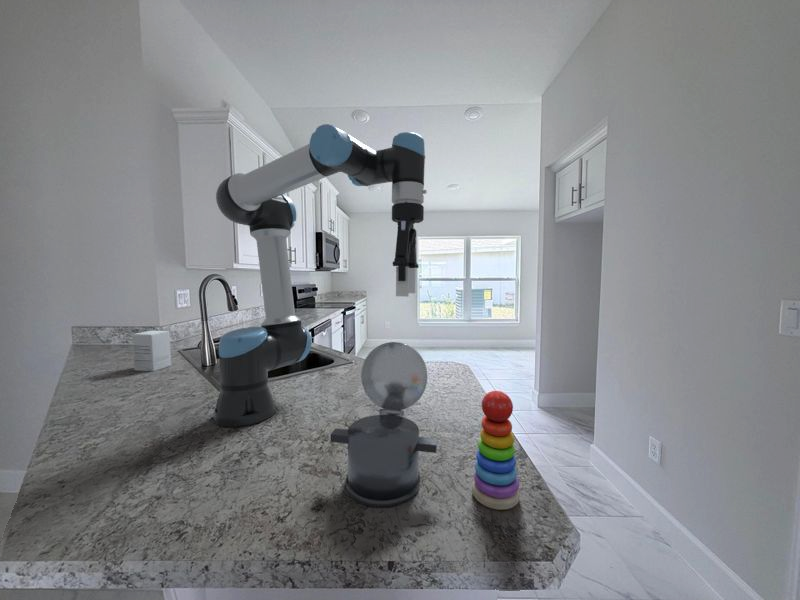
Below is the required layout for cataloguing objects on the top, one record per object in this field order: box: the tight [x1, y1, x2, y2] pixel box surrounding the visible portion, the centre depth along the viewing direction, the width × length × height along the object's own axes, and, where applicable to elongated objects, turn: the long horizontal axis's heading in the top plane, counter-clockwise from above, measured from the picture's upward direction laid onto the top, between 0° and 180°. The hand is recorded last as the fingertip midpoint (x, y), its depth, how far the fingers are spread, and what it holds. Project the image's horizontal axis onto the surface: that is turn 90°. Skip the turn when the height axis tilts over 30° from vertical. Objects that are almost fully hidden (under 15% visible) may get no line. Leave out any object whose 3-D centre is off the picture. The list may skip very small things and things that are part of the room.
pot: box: [330, 414, 438, 509], centre depth 60 cm, size 20×14×10 cm
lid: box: [360, 341, 428, 418], centre depth 69 cm, size 14×15×4 cm
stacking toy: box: [471, 390, 521, 511], centre depth 56 cm, size 8×8×19 cm
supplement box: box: [131, 330, 172, 372], centre depth 134 cm, size 9×9×15 cm
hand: (406, 294), depth 78 cm, fingers open, 13 cm apart
